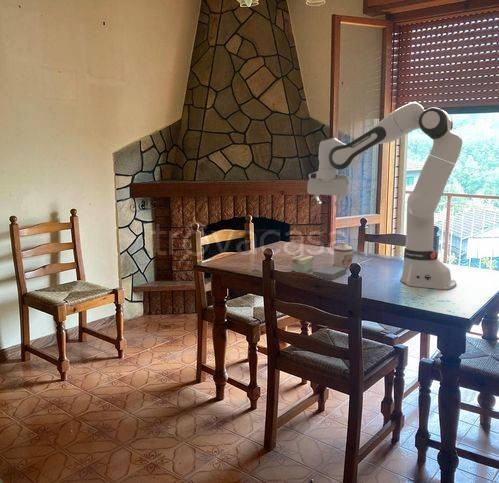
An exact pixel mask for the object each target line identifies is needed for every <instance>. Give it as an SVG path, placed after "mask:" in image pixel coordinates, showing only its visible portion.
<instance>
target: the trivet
mask: <svg viewBox="0 0 499 483" xmlns="http://www.w3.org/2000/svg"><path fill="white" fill-rule="evenodd" d="M346 274H347V268H341V267H335V266H334V265H324V266H321V267H318V268H317V269H314V270H312V276H313V275H316V276H319V277H322V278H321V279H324V278H325V280H331V281H333V280H336V279H338V278H339V277H342V276H344V275H346Z"/></svg>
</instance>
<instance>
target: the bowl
mask: <svg viewBox="0 0 499 483" xmlns="http://www.w3.org/2000/svg"><path fill="white" fill-rule="evenodd" d="M313 264H314V263H313V261H311V262H309V263H306V264H303V265H301V264H295V263H291V272H292V271H298V272H305V274H308V273H310V272H313Z"/></svg>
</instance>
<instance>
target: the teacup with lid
mask: <svg viewBox="0 0 499 483" xmlns="http://www.w3.org/2000/svg"><path fill="white" fill-rule="evenodd" d="M354 255H355V252H354V249H353V247H352V246H349V245H348V244H346V242H344V241H343V242H342V241H341V243H340V244H338V245H336V246H334V248H333V266H335V267H341V268H346V269H350V268H349V266H350V265H351V264H352V265H353V258H354Z"/></svg>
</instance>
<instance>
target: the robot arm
mask: <svg viewBox="0 0 499 483" xmlns="http://www.w3.org/2000/svg"><path fill="white" fill-rule="evenodd" d="M453 124H454V123H453V120H452V117H451V116H450V115H449V113H448V112H446V111H445V110H443V109H441V108H440V107H436V106H434V107H429V108H427V109H425V108H424V107H423V105H421V104H420V103H418V102H416V101H414V102H413V101H412V102H410V103H407V104H405V105H402V106H401V107H399V108H397V109H395V110H394V111H392V112H391V113H389V114H388V115H387V116H385V117H384V118H382V120H380V121H379V122H378V123H377V124H375V125H374V126H373V127H372V128H371V129H369V131H367V132H365V133H363V134H361V135H360V136H359V137H357V138H356V139H354V140H352V141H350V142H348V143H344V142H342V141H340V140H339V139H337V138H336V137H332V138H325V139H322V140H321V141H320V143H319V147H318V161H319V162H318V164H319V165H318V170H317V171H314V172H312V173H309V174H308V178H309V179H308V180H307V186H306V188H307V189H306V190H307V194H309V195H314V198H315V200H316V205H322V200H320V198H319V197H320V196H336V198H337V200H336V201H335V202H334V203H335V204H334V205H335V206H341V204H340V203H341V201H342V199H343V197H344V196H345V197H346V196H349V195H350V192H351V191H350V190H351V189H350V188H351V187H350V178H349V176H348V175H347V174H339V170H344V169H347V168H351V167H354V166H355V165H357V164H358V162H359V160H360V157H361V156H360V155H361V154H363V153H364V152H366V151H368V150H369V149H370V148H372V147H375V146H378V145H382V144H383V145H384V144H388V143H392V142H394V141H397V140H399V139H401V138H403V137H404V136H406V135H408V134H409V133H411V132H413V131H414V130H418V129H419V130H421V132H423V133H424V134H425V135H427V136H428V137H429V138H430V139H431V140H432V142H433V144H432V147H431V149H430V151H429V154H428V156H427V158H426V161H425V162H424V164H423V166H422V168H421V170H420V173H419V176H418V178H417V181H416V184H415V185H414V189H413V190H412V192H411V193H409V195H408V197H407V201H406V202H407V203H406V227H405V228H406V231H405V232H406V233H405V234H406V236H405V247H404V251H403V261H404V262H403V263H404V264H403V268H402V272H401V277H400V279H399V280H400V281H401V282H402V283H404V284H406V285H407V286H409V287H414V288H415V287H416V288H425V289H435V290H436V289H437V290H451V289H453V288H455V287H456V286H457V281H456V280H454V279H452V276H451V275H452V274H451V270H450V268H449V267H448V266H446V264H444V263H443V262H441V261H440V260H439V259H438V254H439V250H437V251H436V250H435V249H434V239H435V238H434V237H435V212H436V210H437V208H438V205H439V204H440V202H441V198H442V195H443V193H444V191H445V188H446V186H447V182H448V181H449V178H450V176H451V174H452V172H453V170H454V168H455V166H456V164H457V162H458V159H459V156H460V153H461V150H462V148H463V147H462V146H463V139H462V138H461V136H460V135H459V134H457V133H455V132H453V131H452V130H453Z"/></svg>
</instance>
